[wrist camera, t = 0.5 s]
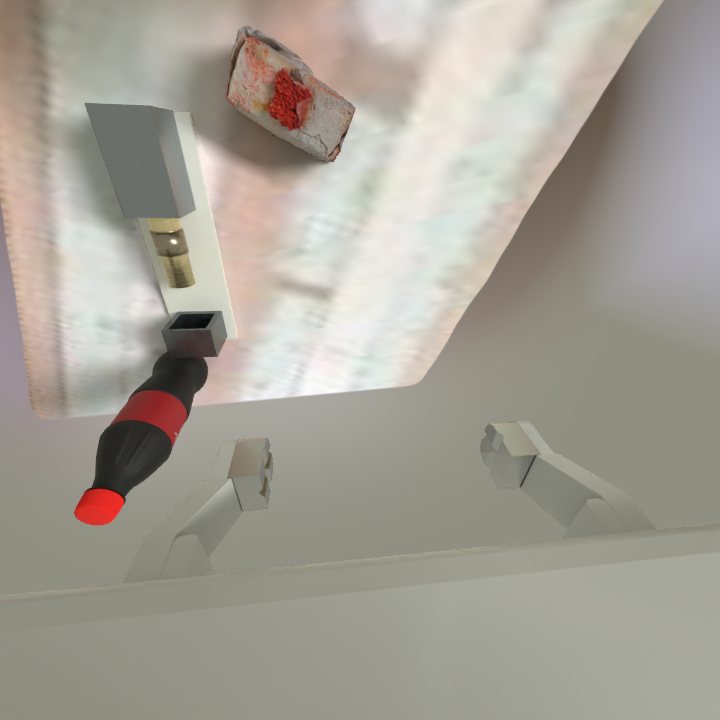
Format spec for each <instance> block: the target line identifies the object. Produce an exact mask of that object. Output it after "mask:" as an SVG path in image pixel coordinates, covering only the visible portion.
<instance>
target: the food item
mask: <svg viewBox="0 0 720 720" xmlns="http://www.w3.org/2000/svg"><path fill="white" fill-rule="evenodd" d="M300 59H301V58H300V57H299V56H298V55H296V54H295V53H293V52H292V51H291V50H289V49H288V48H287V47H285V46H284V45H282V44H281V43H279V42H277V41H276V40H275V39H273V38H271V37H269V36H267V35H265V34H264V33H262V32H261V31H259V30H255V29H252V28H251V27H250V26H244V27H242V29H239V30H238V34H237V38H236V42H235V44H234V48H233V51H232V55H231V69H230V73H229V76H228V80H227V84H226V98H227V99H228V101H229V102H230V103H231V104H232V105H233V106H234V107H235V108H236V109H237V110H238V111H239V112H240V113H242V114H243V115H245V116H246V117H248V118H249V119H251V120H252V121H254V122H255V123H257V124H258V125H260V126H262V127H263V128H265V129H267V130H268V131H270V132H271V133H272V135H273V136H275V135H276V136H278V137H279V138H281V139H283V140H286V141H288V142H290V143H291V144H293V145H295V146H296V147H298V148H301V149H303V150H304V151H306V152H307V154H310V155H312V156H313V157H315V158H317V160H322V161H325V162H334V160H335V159H336V156H337V155H338V153H339V152H341V147H342V143H343V141H344V138H345V136H346V134H347V131H348V128H349V125H350V123H351V121H352V118H353V115H354V112H355V107H354V106H353V105H352V104H351V103H349V102H348V101H346V100H345V99H344V98H343V97H342V96H340V95H338V93H336V91H334V90H332V89H330V88H329V87H328V86H327V85H325V84H324V83H322V82H321V81H319V80H318V79H316V78H314V76H313V73H312V71H311V69H310V68H309V67H308V66H306V65H305V63H304V62H302V61H300Z"/></svg>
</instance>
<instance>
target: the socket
mask: <svg viewBox="0 0 720 720" xmlns="http://www.w3.org/2000/svg"><path fill="white" fill-rule="evenodd" d="M161 332H162V335H163V338H164V340H165V343H166V346H167V349H168V352H169V354H170V357H171V358H191V357H217V356H218V354H219V352H220V350H221V348H222V346H223V344H224V342H225V340H226V338H227V332H226V327H225V323H224V319H223V314H222V311H184V312H177V313H176V314H175V315H174V317H173V318H172V319H171V320H170V321H169V322H168V324H167V325H166V326H165V327H164V328H163V329H162V331H161Z"/></svg>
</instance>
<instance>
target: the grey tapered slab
mask: <svg viewBox="0 0 720 720" xmlns="http://www.w3.org/2000/svg"><path fill="white" fill-rule="evenodd" d="M85 106H86V109H87V112H88V115H89V118H90V120H91V123H92V126H93V129H94V132H95V135H96V137H97V140H98V143H99V146H100V149H101V152H102V155H103V157H104V160H105V163H106V166H107V169H108V172H109V174H110V177H111V180H112V183H113V186H114V189H115V192H116V194H117V197H118V200H119V203H120V206H121V209H122V212H123V214H124V217H125V218H181V217H183V216H185V215H187V214H189V213H191V212H193V211H195V210H196V207H195V203H194V198H193V194H192V190H191V185H190V181H189V177H188V173H187V168H186V164H185V160H184V156H183V151H182V147H181V143H180V138H179V134H178V130H177V126H176V121H175V117H174V113H173V111H171V110H166V109H162V108H158V107H153V106H144V105H120V104H96V103H85Z"/></svg>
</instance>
